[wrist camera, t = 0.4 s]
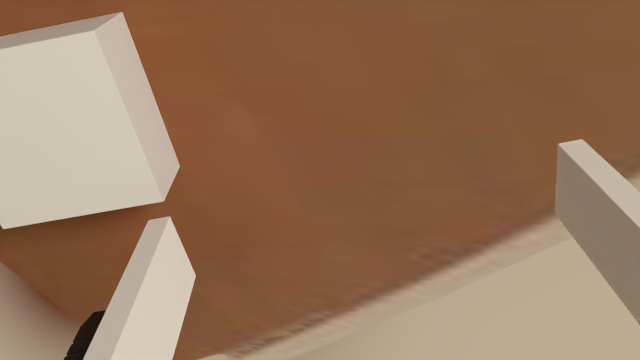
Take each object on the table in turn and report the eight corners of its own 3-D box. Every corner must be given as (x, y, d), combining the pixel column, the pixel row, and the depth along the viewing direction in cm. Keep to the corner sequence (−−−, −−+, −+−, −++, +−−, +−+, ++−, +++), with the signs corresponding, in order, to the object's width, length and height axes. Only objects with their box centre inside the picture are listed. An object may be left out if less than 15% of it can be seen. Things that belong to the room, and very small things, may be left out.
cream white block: (-45, 45, 40) (-97, 68, 35) (122, 11, 39) (93, 30, 34) (36, 191, 47) (3, 229, 42) (179, 166, 46) (163, 201, 41)
